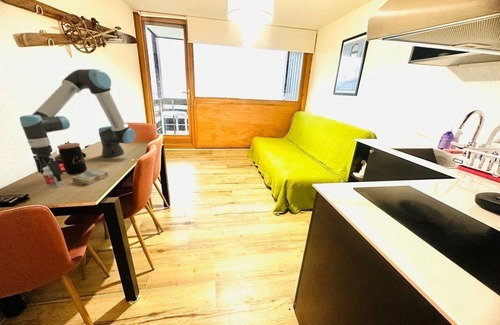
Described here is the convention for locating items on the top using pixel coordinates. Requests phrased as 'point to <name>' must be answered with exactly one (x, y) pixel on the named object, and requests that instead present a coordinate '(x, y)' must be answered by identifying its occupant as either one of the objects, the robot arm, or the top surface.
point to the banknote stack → (90, 177)
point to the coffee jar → (72, 158)
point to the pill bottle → (49, 177)
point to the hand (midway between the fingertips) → (55, 185)
